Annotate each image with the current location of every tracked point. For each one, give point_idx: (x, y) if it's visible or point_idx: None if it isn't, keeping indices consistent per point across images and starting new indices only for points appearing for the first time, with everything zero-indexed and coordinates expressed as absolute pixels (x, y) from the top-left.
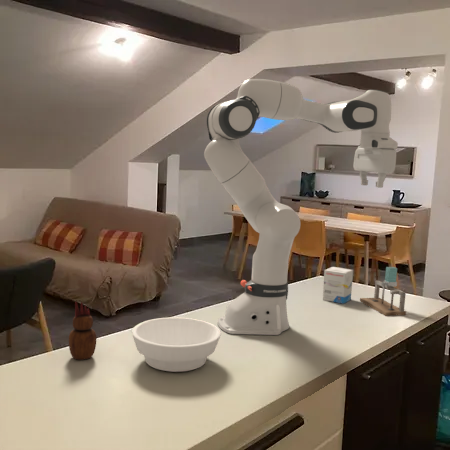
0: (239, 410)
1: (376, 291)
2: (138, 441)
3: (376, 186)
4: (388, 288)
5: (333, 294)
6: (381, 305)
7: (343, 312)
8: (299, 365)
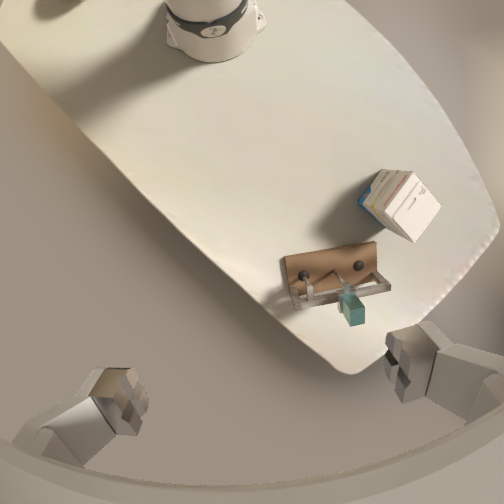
0: (12, 42)
1: (376, 277)
2: (3, 5)
3: (117, 368)
4: None
5: (376, 186)
6: (329, 266)
7: (303, 181)
8: (70, 74)
